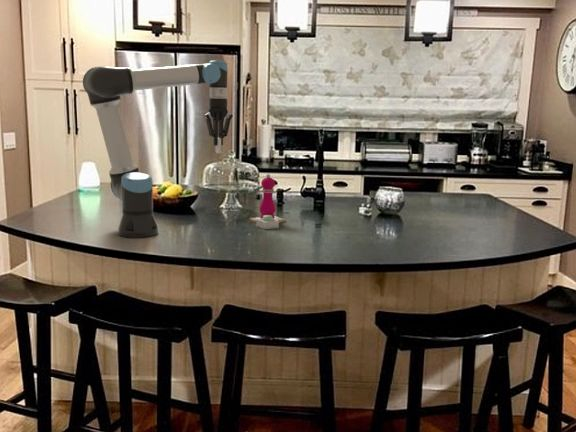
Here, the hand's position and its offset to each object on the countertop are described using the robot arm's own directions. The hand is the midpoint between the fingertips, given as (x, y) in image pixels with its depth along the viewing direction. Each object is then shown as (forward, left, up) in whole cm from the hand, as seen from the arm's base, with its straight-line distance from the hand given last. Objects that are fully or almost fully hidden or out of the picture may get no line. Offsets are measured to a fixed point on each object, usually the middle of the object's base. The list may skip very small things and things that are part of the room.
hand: (218, 152), depth 252 cm
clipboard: (+17, -14, -29) cm, 37 cm away
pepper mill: (+17, -14, -29) cm, 36 cm away
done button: (+12, -24, -28) cm, 39 cm away
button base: (+12, -24, -29) cm, 39 cm away
